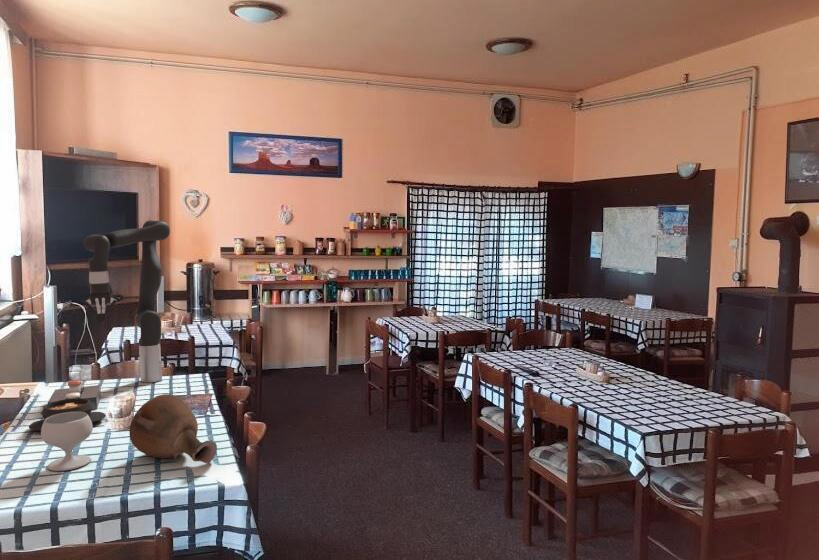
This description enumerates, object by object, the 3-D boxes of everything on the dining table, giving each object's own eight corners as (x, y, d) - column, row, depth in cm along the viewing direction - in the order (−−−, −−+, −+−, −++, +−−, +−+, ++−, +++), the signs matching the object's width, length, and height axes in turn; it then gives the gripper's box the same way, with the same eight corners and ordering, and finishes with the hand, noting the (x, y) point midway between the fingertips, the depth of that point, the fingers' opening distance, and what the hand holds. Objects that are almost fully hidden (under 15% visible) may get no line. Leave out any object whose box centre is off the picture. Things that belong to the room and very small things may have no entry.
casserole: (29, 439, 216) (27, 416, 215) (29, 425, 231) (27, 403, 231) (108, 426, 228) (107, 404, 228) (103, 413, 244) (102, 392, 243)
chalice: (83, 452, 203) (80, 407, 201) (102, 462, 194) (99, 415, 193) (35, 466, 192) (32, 418, 191) (54, 477, 183) (51, 427, 182)
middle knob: (82, 393, 258) (82, 379, 258) (81, 396, 254) (80, 382, 253) (69, 394, 257) (68, 380, 256) (67, 397, 252) (66, 383, 251)
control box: (101, 396, 268) (100, 385, 267) (97, 409, 249) (96, 397, 249) (56, 401, 262) (55, 389, 261) (48, 414, 243) (47, 402, 243)
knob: (81, 406, 252) (80, 391, 252) (80, 409, 248) (79, 395, 247) (67, 407, 250) (66, 393, 250) (66, 411, 246) (65, 396, 245)
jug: (122, 455, 200) (181, 492, 184) (112, 402, 193) (173, 436, 177) (176, 426, 215) (235, 457, 199) (169, 376, 208) (229, 404, 192)
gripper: (116, 280, 272) (119, 319, 273) (82, 282, 267) (85, 322, 268) (116, 281, 265) (118, 322, 266) (81, 283, 260) (83, 324, 261)
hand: (102, 322), depth 267 cm, fingers closed
